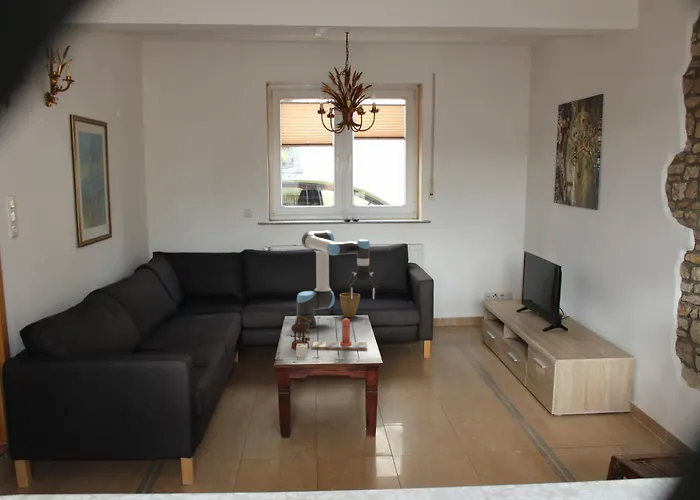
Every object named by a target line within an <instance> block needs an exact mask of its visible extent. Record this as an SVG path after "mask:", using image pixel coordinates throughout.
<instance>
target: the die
mask: <svg viewBox="0 0 700 500" xmlns="http://www.w3.org/2000/svg"><path fill="white" fill-rule="evenodd" d="M295 351H296V353H295V355H296V357H297V358H307V357H308V344H297V346H296V350H295Z"/></svg>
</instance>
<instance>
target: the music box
mask: <svg viewBox="0 0 700 500" xmlns="http://www.w3.org/2000/svg"><path fill="white" fill-rule="evenodd" d="M298 318H299V320H301V321H303V322H305V324H300V322H299V323H298V324H294V323H293V324H292V326H291V327H290V328H291V332H293V333H294V335H292V334H291V333H290V334H286V336H290V338H293V339H294V340H293V341H291V344H290V345H291V350H293V351H296V346H297V344H308V349H309V348H310V342H309V341H310V340H311V338H310V337H309V334H311V331H310V330H308V329H307V326H306V322H308V321H310V322H311V321H312V320H309V319H307V318H305V317H302V316H299V317H298ZM301 333H302V335H301ZM297 334H298V335H297ZM306 334H308V335H307V337H306Z"/></svg>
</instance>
